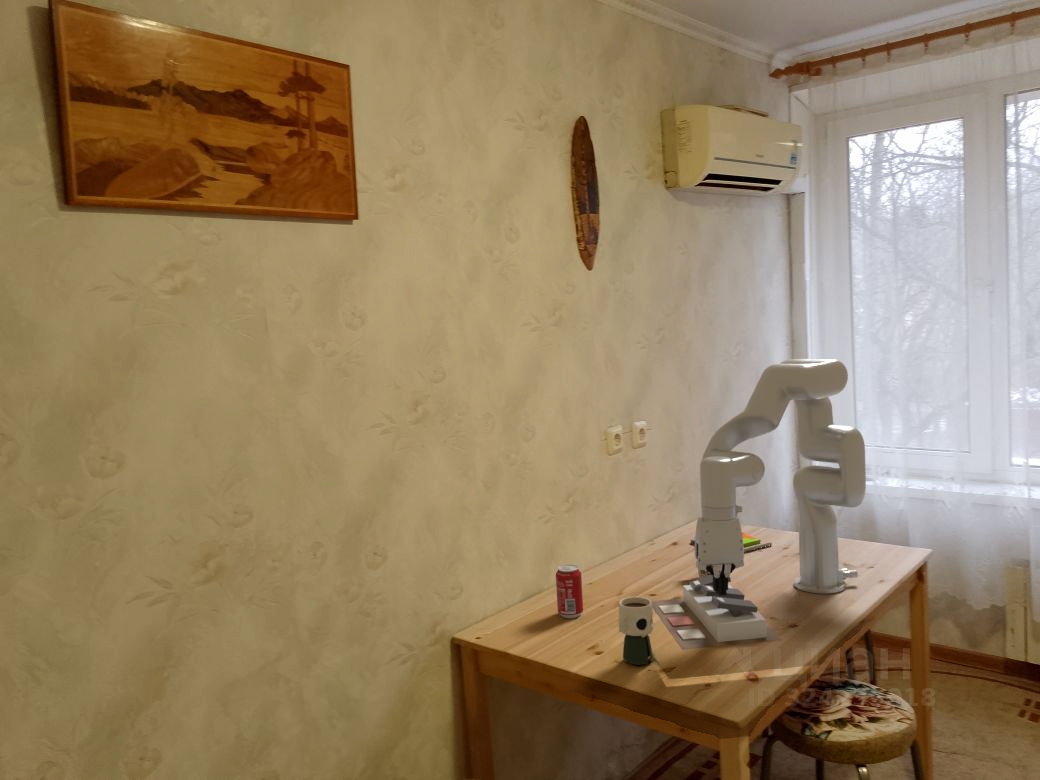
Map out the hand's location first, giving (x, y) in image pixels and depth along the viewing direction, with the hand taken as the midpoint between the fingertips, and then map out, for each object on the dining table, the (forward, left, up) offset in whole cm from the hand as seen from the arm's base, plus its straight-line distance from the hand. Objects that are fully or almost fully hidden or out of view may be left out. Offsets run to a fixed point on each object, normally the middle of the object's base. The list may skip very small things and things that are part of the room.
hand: (720, 593), depth 183 cm
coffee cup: (-11, -39, -11) cm, 42 cm away
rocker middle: (-3, -8, -5) cm, 10 cm away
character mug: (+21, +8, -11) cm, 25 cm away
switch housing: (-3, -8, -9) cm, 13 cm away
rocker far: (-3, -16, -5) cm, 17 cm away
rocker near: (-3, 0, -5) cm, 6 cm away
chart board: (0, -8, -10) cm, 13 cm away
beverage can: (+31, -22, -11) cm, 40 cm away
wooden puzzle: (-26, -68, -11) cm, 74 cm away
